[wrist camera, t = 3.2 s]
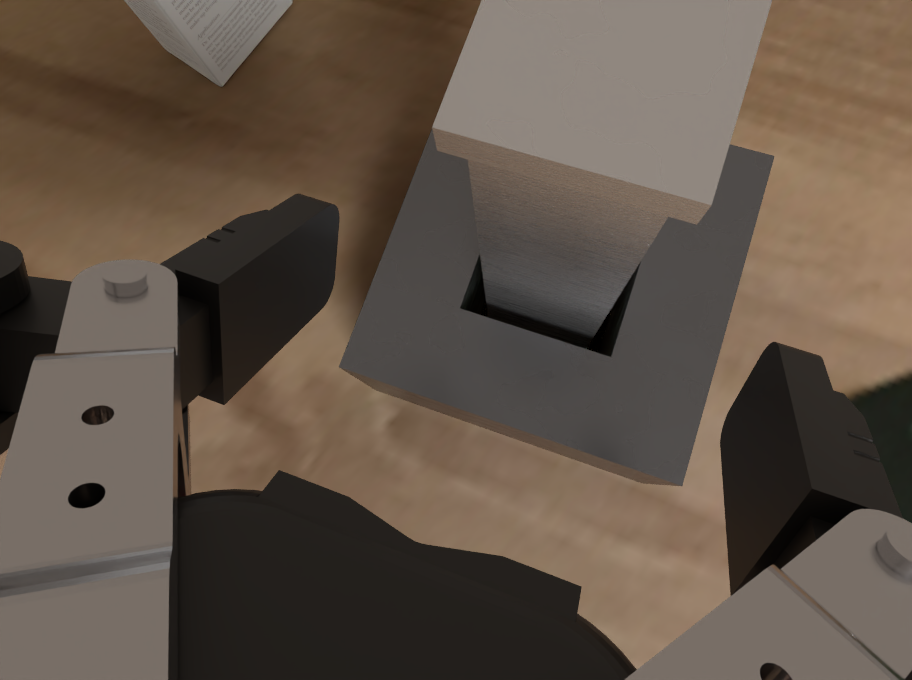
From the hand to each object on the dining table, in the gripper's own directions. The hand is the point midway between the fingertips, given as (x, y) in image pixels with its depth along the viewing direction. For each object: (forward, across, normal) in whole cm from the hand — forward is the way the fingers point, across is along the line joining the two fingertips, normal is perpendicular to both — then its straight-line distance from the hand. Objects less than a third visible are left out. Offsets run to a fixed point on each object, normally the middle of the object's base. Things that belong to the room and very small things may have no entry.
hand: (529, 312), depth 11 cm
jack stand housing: (+14, 0, +8) cm, 16 cm away
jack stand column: (+14, 0, +8) cm, 16 cm away
